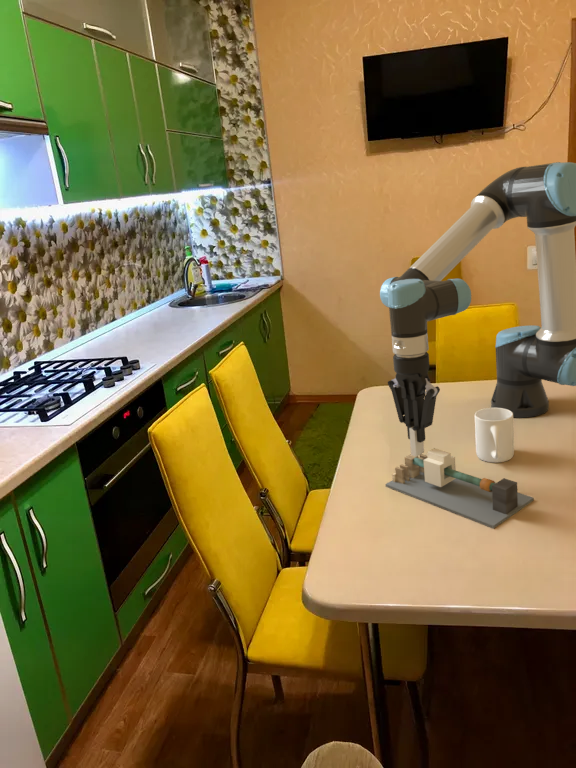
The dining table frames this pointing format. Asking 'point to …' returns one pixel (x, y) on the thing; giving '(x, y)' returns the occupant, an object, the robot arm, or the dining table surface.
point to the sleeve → (438, 467)
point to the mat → (459, 499)
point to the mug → (494, 434)
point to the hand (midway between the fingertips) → (417, 453)
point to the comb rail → (501, 491)
